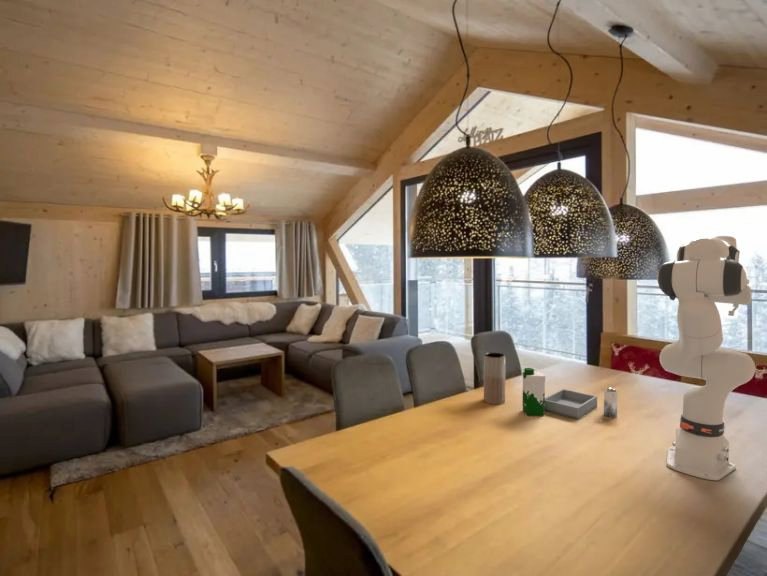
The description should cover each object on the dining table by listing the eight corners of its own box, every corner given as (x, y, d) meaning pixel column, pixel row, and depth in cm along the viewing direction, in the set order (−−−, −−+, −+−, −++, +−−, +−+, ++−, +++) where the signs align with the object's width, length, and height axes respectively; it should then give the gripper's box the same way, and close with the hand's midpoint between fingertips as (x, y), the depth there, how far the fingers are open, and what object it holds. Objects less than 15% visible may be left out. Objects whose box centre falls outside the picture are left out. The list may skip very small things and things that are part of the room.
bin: (577, 419, 184) (577, 408, 184) (541, 410, 195) (541, 399, 195) (597, 406, 199) (597, 396, 199) (562, 398, 211) (562, 388, 210)
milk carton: (520, 409, 196) (520, 366, 195) (540, 409, 196) (540, 366, 195) (526, 416, 188) (526, 371, 186) (547, 416, 188) (547, 371, 186)
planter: (486, 396, 215) (486, 351, 214) (506, 399, 211) (507, 353, 209) (481, 402, 206) (481, 355, 205) (502, 405, 202) (503, 357, 200)
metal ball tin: (614, 418, 185) (615, 390, 184) (601, 415, 189) (602, 388, 188) (618, 415, 189) (619, 388, 188) (606, 412, 192) (606, 385, 191)
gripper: (685, 276, 172) (681, 311, 173) (751, 280, 157) (747, 318, 158) (689, 276, 177) (686, 310, 178) (754, 280, 162) (750, 317, 163)
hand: (715, 314), depth 168 cm, fingers open, 8 cm apart
